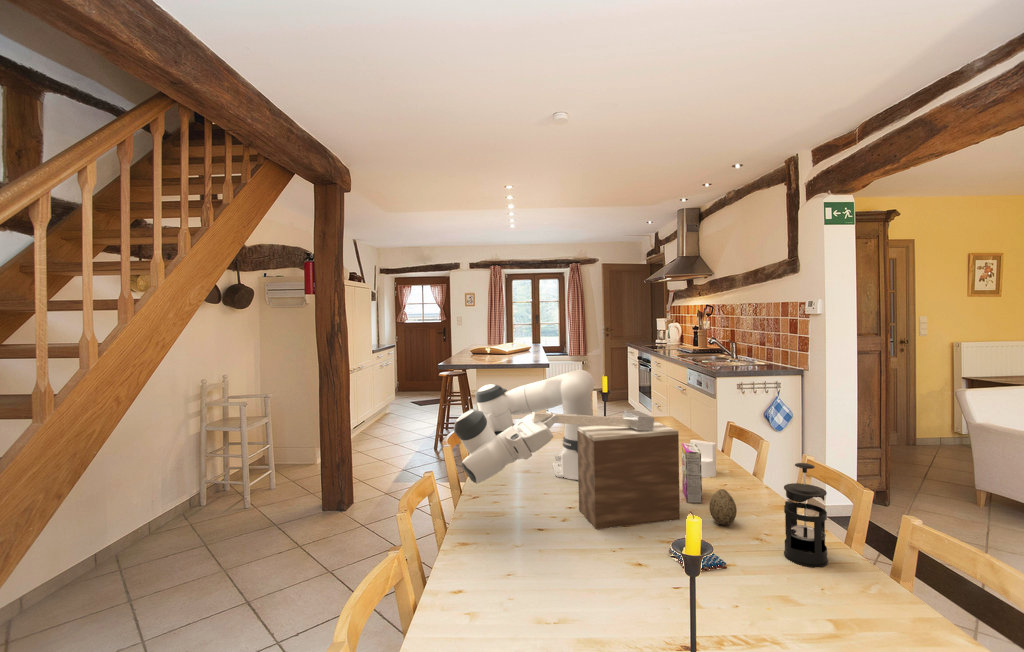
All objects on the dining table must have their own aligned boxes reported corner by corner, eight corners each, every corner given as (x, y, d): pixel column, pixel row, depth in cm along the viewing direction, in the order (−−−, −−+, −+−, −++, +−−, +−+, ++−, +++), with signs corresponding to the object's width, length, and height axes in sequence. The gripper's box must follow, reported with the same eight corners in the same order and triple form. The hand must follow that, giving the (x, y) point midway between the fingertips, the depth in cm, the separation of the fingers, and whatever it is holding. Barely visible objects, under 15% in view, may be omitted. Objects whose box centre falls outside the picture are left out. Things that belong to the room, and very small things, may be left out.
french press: (840, 567, 118) (839, 469, 117) (802, 570, 117) (801, 472, 116) (805, 544, 129) (804, 455, 129) (771, 547, 128) (770, 457, 128)
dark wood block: (579, 510, 155) (577, 426, 155) (656, 502, 161) (655, 421, 160) (595, 529, 142) (593, 437, 141) (679, 519, 147) (678, 430, 146)
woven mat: (703, 550, 129) (703, 542, 129) (729, 571, 118) (729, 562, 118) (665, 555, 127) (665, 547, 127) (688, 576, 116) (688, 567, 116)
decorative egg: (739, 530, 139) (739, 494, 139) (712, 528, 140) (711, 493, 140) (733, 519, 146) (732, 485, 146) (707, 518, 147) (706, 484, 147)
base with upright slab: (720, 473, 187) (719, 441, 187) (710, 479, 181) (710, 446, 181) (696, 468, 194) (695, 437, 193) (686, 474, 187) (685, 442, 187)
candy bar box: (681, 491, 170) (680, 442, 170) (697, 491, 169) (696, 443, 169) (686, 503, 159) (685, 451, 159) (702, 504, 158) (701, 452, 158)
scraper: (528, 417, 149) (529, 404, 149) (637, 423, 156) (638, 411, 156) (537, 424, 139) (538, 410, 139) (652, 431, 147) (654, 417, 147)
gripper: (513, 442, 154) (550, 417, 156) (529, 461, 134) (571, 432, 136) (502, 425, 153) (540, 400, 155) (517, 441, 133) (560, 412, 135)
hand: (555, 415), depth 146 cm, fingers closed on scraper, 2 cm apart
